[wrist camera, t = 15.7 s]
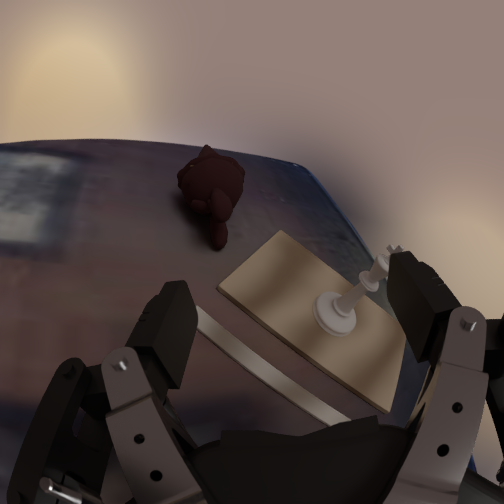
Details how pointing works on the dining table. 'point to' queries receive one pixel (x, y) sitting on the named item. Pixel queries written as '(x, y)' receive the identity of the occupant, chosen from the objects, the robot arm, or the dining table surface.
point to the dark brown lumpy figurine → (212, 189)
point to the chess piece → (350, 298)
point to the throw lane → (309, 328)
